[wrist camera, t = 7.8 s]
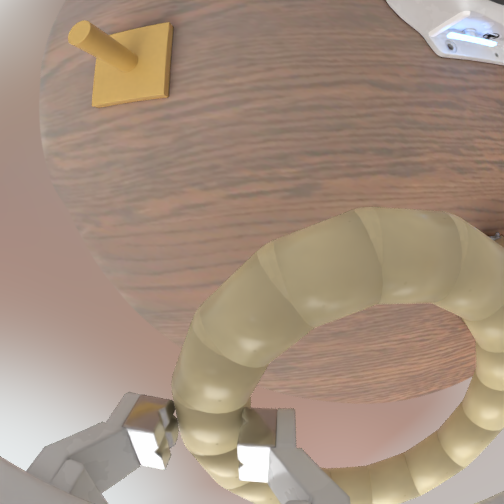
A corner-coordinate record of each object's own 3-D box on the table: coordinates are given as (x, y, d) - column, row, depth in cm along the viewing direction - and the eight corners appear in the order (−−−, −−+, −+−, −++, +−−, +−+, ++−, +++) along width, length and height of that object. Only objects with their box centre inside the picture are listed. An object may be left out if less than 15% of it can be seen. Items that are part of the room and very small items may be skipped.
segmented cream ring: (538, 218, 8) (581, 231, 5) (452, 466, 11) (465, 497, 8) (170, 200, 9) (132, 211, 6) (204, 479, 12) (194, 517, 10)
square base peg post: (173, 26, 27) (132, -22, 16) (168, 97, 30) (118, 67, 18) (105, 41, 28) (50, 8, 17) (98, 108, 30) (34, 91, 19)
